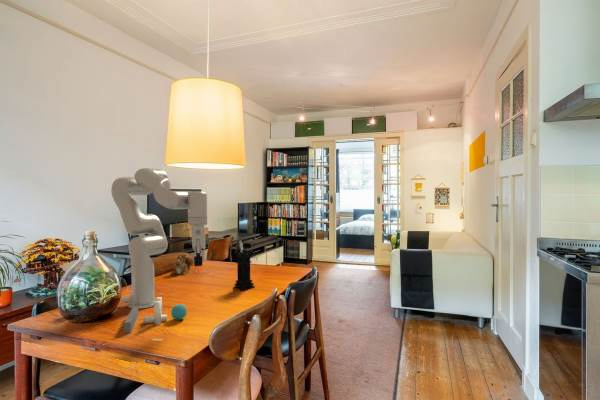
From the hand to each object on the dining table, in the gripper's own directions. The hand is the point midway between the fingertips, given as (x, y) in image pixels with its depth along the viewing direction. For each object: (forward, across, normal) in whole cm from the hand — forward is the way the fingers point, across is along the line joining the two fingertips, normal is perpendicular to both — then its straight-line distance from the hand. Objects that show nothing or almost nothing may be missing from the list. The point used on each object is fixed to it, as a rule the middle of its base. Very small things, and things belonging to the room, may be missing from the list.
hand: (198, 265), depth 136 cm
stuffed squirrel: (+21, +85, +8) cm, 88 cm away
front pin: (+20, 0, +12) cm, 23 cm away
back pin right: (+21, -2, +16) cm, 26 cm away
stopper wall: (+21, 0, +25) cm, 33 cm away
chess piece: (+21, +36, -24) cm, 48 cm away
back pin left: (+21, +2, +16) cm, 26 cm away
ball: (+18, -1, +8) cm, 20 cm away
